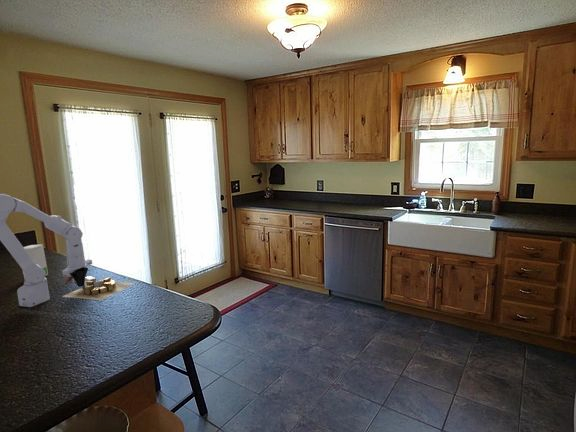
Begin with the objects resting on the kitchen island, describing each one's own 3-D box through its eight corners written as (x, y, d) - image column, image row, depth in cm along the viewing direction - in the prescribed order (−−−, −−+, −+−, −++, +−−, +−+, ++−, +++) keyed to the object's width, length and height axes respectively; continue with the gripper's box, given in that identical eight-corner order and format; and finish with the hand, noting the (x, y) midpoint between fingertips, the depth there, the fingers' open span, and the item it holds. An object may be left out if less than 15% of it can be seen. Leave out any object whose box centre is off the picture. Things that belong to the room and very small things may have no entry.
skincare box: (36, 280, 167) (31, 248, 164) (23, 280, 167) (17, 249, 165) (49, 274, 176) (43, 243, 173) (36, 274, 176) (30, 244, 173)
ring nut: (99, 296, 140) (98, 287, 140) (67, 293, 145) (66, 285, 145) (121, 284, 152) (120, 277, 151) (91, 282, 157) (90, 275, 156)
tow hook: (84, 275, 173) (64, 280, 165) (82, 249, 171) (61, 253, 163) (93, 278, 168) (73, 284, 160) (91, 251, 166) (70, 256, 158)
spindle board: (102, 303, 137) (101, 291, 136) (62, 299, 143) (60, 288, 142) (135, 285, 154) (134, 275, 153) (98, 282, 160) (97, 273, 159)
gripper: (71, 260, 139) (76, 292, 141) (96, 249, 153) (101, 279, 155) (55, 260, 140) (61, 292, 142) (81, 249, 154) (86, 279, 156)
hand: (80, 285), depth 149 cm, fingers closed
